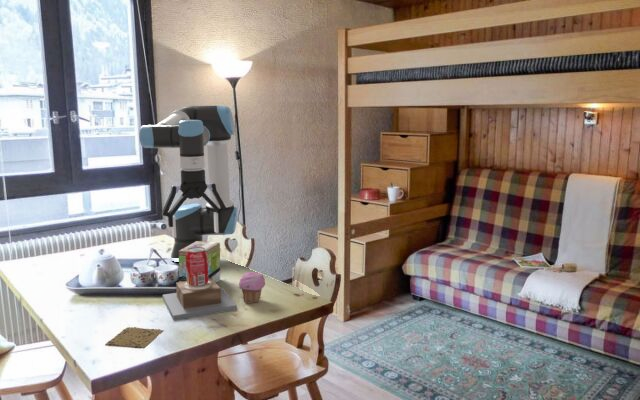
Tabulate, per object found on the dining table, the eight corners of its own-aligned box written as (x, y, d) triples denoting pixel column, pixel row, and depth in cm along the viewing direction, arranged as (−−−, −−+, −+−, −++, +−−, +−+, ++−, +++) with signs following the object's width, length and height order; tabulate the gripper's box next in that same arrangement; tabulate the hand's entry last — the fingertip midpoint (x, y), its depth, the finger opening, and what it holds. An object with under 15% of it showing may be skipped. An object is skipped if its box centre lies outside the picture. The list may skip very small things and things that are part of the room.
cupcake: (242, 296, 184) (241, 268, 182) (267, 296, 184) (266, 268, 182) (237, 305, 175) (236, 276, 174) (263, 306, 175) (262, 277, 173)
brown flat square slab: (144, 350, 145) (144, 346, 145) (103, 346, 147) (103, 343, 147) (164, 331, 157) (164, 328, 156) (126, 328, 159) (126, 325, 158)
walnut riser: (176, 296, 179) (175, 281, 179) (212, 291, 184) (211, 276, 184) (183, 309, 169) (182, 293, 168) (221, 303, 174) (220, 287, 173)
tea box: (205, 292, 188) (203, 252, 185) (178, 290, 190) (176, 250, 187) (221, 279, 202) (220, 241, 200) (196, 277, 204) (195, 240, 202)
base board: (162, 298, 182) (162, 294, 181) (220, 290, 190) (220, 286, 190) (173, 320, 164) (173, 315, 164) (236, 309, 172) (236, 305, 172)
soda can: (197, 279, 180) (195, 245, 178) (213, 283, 177) (211, 248, 175) (182, 285, 174) (180, 250, 172) (198, 289, 171) (196, 253, 169)
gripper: (153, 173, 160) (157, 241, 164) (234, 168, 171) (236, 232, 175) (150, 170, 167) (154, 235, 171) (228, 165, 177) (230, 228, 181)
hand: (195, 234), depth 173 cm, fingers open, 13 cm apart
